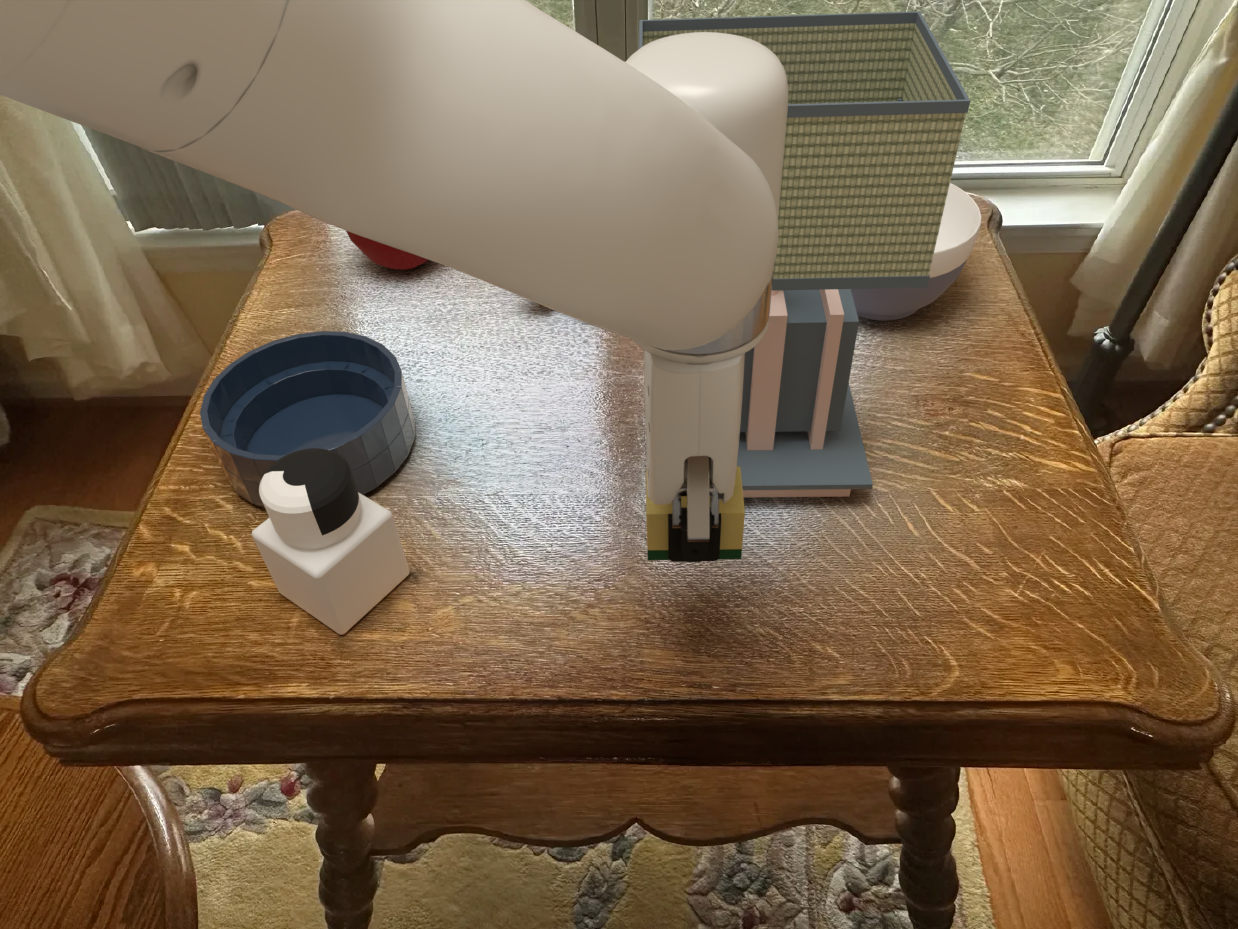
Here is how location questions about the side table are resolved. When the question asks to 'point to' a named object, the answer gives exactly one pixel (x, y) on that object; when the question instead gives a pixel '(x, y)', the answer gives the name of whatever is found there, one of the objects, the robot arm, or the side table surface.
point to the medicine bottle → (327, 539)
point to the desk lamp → (838, 225)
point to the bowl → (945, 268)
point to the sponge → (659, 513)
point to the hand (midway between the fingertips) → (692, 527)
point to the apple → (386, 254)
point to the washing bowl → (310, 408)
